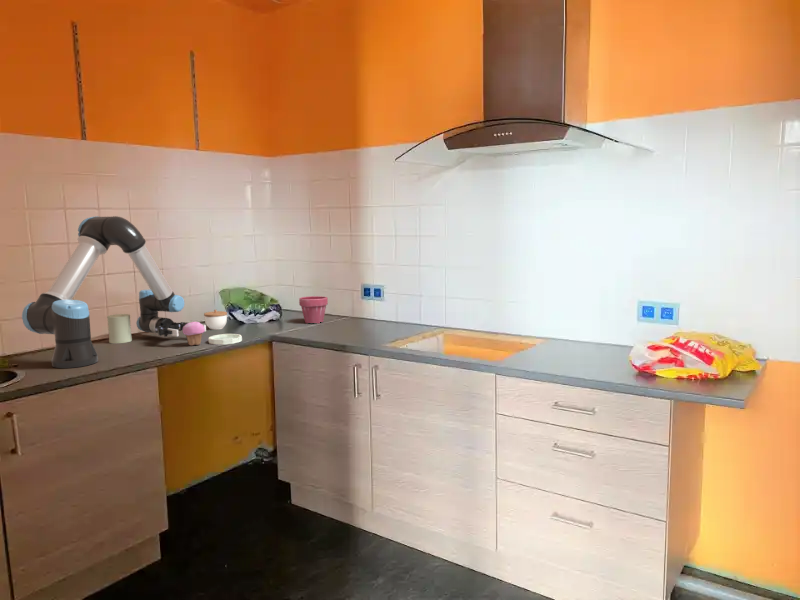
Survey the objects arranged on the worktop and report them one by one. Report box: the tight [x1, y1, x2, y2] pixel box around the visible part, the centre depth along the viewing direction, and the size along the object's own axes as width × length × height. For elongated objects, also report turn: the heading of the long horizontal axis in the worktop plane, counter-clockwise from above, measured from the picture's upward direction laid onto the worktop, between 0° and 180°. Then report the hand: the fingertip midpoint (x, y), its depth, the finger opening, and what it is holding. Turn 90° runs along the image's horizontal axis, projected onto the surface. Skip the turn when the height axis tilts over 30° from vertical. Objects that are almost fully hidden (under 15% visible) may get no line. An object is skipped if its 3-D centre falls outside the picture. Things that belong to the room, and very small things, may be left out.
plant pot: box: [298, 295, 329, 324], centre depth 305 cm, size 14×14×13 cm
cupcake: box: [182, 321, 206, 347], centre depth 253 cm, size 9×9×10 cm
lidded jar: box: [203, 309, 228, 331], centre depth 292 cm, size 11×11×9 cm
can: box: [106, 313, 133, 345], centre depth 263 cm, size 9×9×12 cm
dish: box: [208, 333, 243, 346], centre depth 260 cm, size 14×14×2 cm
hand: (191, 330), depth 255 cm, fingers open, 13 cm apart
